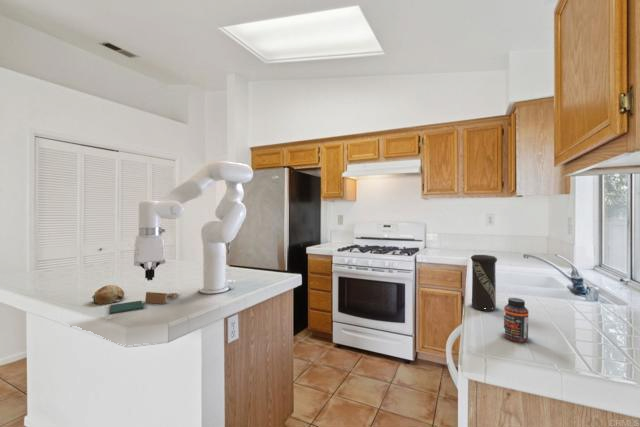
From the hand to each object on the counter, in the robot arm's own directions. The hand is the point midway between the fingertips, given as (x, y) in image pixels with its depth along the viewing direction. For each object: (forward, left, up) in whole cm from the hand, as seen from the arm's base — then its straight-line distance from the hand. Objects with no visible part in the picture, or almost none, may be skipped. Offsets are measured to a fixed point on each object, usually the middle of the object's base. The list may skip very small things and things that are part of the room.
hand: (149, 279), depth 117 cm
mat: (+7, -1, -10) cm, 12 cm away
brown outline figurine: (-2, -2, -8) cm, 8 cm away
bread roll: (+13, -15, -10) cm, 23 cm away
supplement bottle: (-85, +93, -10) cm, 126 cm away
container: (-104, +73, -10) cm, 128 cm away
